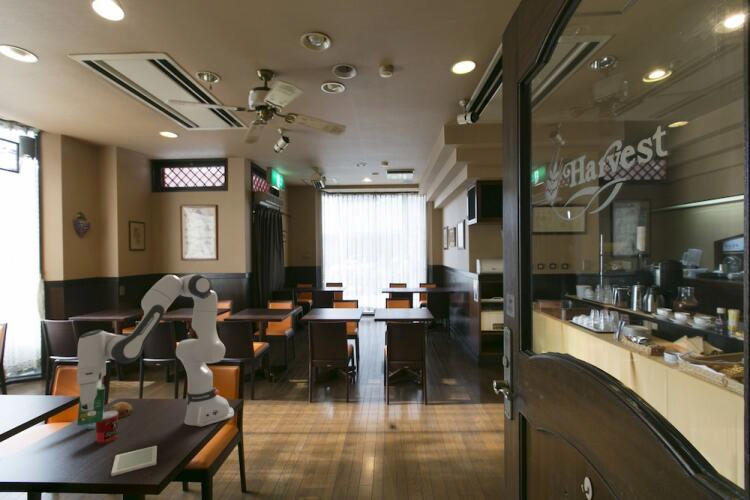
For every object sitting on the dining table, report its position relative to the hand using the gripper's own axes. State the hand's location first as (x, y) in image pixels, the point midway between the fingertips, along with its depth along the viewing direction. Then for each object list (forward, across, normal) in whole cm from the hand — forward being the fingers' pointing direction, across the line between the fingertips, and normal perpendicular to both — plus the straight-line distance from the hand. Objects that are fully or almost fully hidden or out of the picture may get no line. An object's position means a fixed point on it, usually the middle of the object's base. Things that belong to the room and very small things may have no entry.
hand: (91, 407), depth 139 cm
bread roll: (+21, -45, +5) cm, 50 cm away
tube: (+21, -35, -4) cm, 41 cm away
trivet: (+21, +10, +15) cm, 27 cm away
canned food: (+21, -17, +3) cm, 27 cm away
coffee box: (+6, 0, 0) cm, 6 cm away
